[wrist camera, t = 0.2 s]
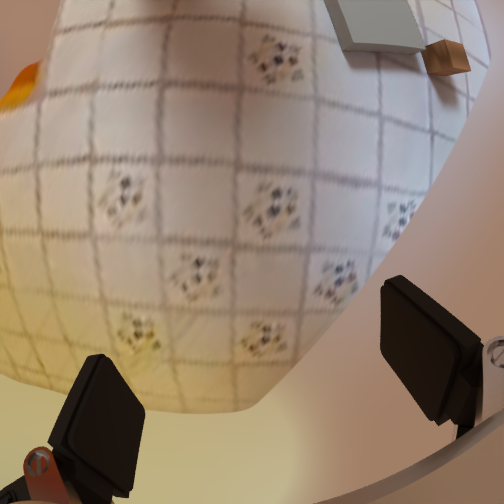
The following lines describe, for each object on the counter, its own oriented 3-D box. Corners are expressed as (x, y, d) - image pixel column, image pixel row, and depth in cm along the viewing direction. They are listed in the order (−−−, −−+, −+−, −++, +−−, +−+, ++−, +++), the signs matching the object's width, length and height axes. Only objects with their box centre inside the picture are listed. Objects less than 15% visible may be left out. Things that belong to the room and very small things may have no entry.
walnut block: (419, 48, 32) (444, 39, 25) (438, 51, 32) (462, 44, 25) (427, 73, 34) (453, 67, 27) (445, 76, 34) (471, 71, 27)
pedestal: (315, -19, 27) (323, -30, 23) (386, -10, 27) (397, -19, 24) (342, 50, 32) (353, 42, 28) (412, 54, 32) (426, 49, 28)
